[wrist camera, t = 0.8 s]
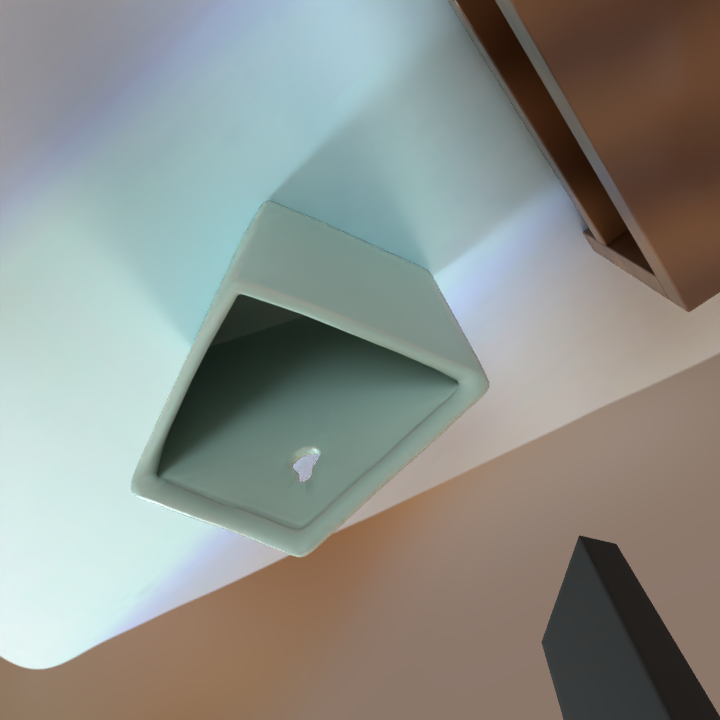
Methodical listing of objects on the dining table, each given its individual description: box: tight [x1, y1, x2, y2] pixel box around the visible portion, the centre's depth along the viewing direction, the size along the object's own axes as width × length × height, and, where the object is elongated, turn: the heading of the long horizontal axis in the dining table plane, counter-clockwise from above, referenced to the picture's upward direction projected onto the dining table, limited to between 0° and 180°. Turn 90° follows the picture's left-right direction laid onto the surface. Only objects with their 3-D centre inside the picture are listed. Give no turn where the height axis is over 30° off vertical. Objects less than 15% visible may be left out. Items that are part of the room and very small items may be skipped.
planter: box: [131, 201, 489, 557], centre depth 25 cm, size 16×8×20 cm, turn 108°
